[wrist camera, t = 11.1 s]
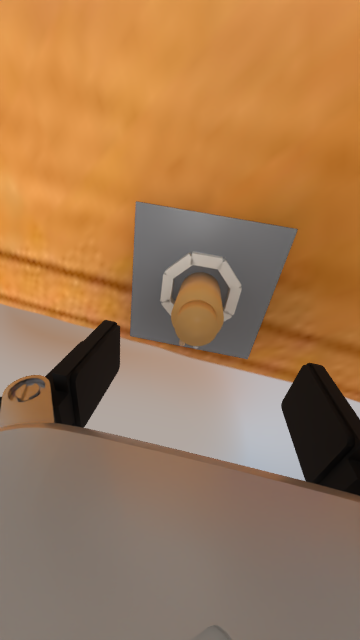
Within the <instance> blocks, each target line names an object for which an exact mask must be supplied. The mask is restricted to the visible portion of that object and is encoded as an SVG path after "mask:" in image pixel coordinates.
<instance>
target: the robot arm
mask: <svg viewBox="0 0 360 640" xmlns="http://www.w3.org/2000/svg"><path fill="white" fill-rule="evenodd" d="M119 367H120V326H118V325H117V323H116V322H113V321H108V320H104V321H103V322H102V323H101V324H100V325H99V326H98V327H97V328H96V329H95V330H94V331H93V332H92V333H91V334H90V335H89V336H88V337H87V338H86V339H85V340H84V341H82V342H80V343H79V344H78V345H77V346H76V347H75V348H74V349H73V350H72V351H71V352H70V353H69V354H68V355H67V356H66V357H65V358H64V359H63V360H62V361H61V362H60V363H59V364H58V365H57V366H56V367H55V368H54V369H52V371H51V372H50V373H48V374H47V375H46V376H45V377H44V376H41V375H31V376H26V377H23V378H20V379H18V380H16V381H14V382H13V383H11V384H10V385H9V386H8V387H7V388H6V389H5V391H4V392H3V395H2V397H0V640H360V419H359V418H358V416H357V415H356V413H355V412H354V410H353V409H352V407H351V406H350V405H349V403H348V402H347V400H346V399H345V397H344V396H343V394H342V393H341V391H340V390H339V388H338V387H337V386H336V384H335V383H334V381H333V380H332V378H331V377H330V375H329V374H328V372H327V371H326V369H325V368H324V367H323V366H322V365H317V364H313V363H308V364H306V365H303V366H302V368H301V370H300V371H299V373H298V375H297V377H296V378H295V380H294V382H293V384H292V386H291V387H290V389H289V391H288V392H287V394H286V396H285V398H284V399H283V401H282V405H281V406H282V411H283V414H284V417H285V420H286V423H287V426H288V429H289V432H290V435H291V438H292V441H293V444H294V447H295V450H296V453H297V456H298V459H299V462H300V466H301V468H302V472H303V475H304V477H305V480H306V481H302V480H298V479H294V478H290V477H286V476H282V475H278V474H274V473H269V472H266V471H262V470H258V469H254V468H250V467H246V466H242V465H238V464H234V463H230V462H226V461H221V460H218V459H214V458H210V457H205V456H201V455H197V454H193V453H189V452H185V451H181V450H177V449H172V448H168V447H164V446H160V445H156V444H152V443H148V442H143V441H139V440H135V439H131V438H127V437H122V436H118V435H114V434H109V433H105V432H100V431H96V430H91V429H86V428H84V427H85V425H86V424H87V422H88V420H89V419H90V417H91V415H92V414H93V412H94V410H95V409H96V407H97V405H98V404H99V402H100V401H101V399H102V397H103V396H104V393H105V392H106V390H107V389H108V387H109V386H110V384H111V382H112V380H113V379H114V377H115V376H116V374H117V372H118V370H119Z"/></svg>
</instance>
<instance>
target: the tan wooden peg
mask: <svg viewBox="0 0 360 640" xmlns="http://www.w3.org/2000/svg"><path fill="white" fill-rule="evenodd" d="M171 321H172V324H173V327H174V328H175V332H176V334H177V336H178V338H179V339H180V340H181V341H182V342H184V343H186V344H188V345H191V346H203V345H206V344H208V343H210V342H211V341H212V340H213V339H214V338H215V337H216V335H217V333H218V332H219V331H220V329H221V327H222V325H223V322H224V314H223V307H222V300H221V293H220V287H219V284H218V282H217V280H216V279H215V278H214V277H213V276H211V275H210V274H207V273H204V272H197V273H193V274H191V275H189V276H188V277H186V278H185V279H184V281H183V282H182V285H181V287H180V290H179V293H178V295H177V298H176V301H175V304H174V306H173V309H172V312H171Z"/></svg>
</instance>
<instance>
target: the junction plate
mask: <svg viewBox="0 0 360 640" xmlns="http://www.w3.org/2000/svg"><path fill="white" fill-rule="evenodd" d="M297 230H298V229H294V228H288V227H282V226H276V225H270V224H265V223H259V222H253V221H247V220H241V219H235V218H230V217H224V216H218V215H212V214H206V213H200V212H195V211H189V210H183V209H177V208H171V207H165V206H160V205H154V204H148V203H142V202H136V212H135V235H134V259H133V282H132V305H131V328H130V336H133V337H138V338H143V339H148V340H153V341H158V342H163V343H168V344H173V345H178V346H183V347H189V348H194V349H199V350H204V351H209V352H214V353H219V354H224V355H229V356H234V357H239V358H244V359H248V357H249V354H250V352H251V349H252V346H253V344H254V341H255V339H256V336H257V334H258V331H259V328H260V326H261V323H262V321H263V318H264V315H265V313H266V310H267V308H268V305H269V303H270V300H271V297H272V295H273V292H274V290H275V287H276V284H277V282H278V279H279V277H280V274H281V271H282V269H283V266H284V264H285V261H286V259H287V256H288V253H289V251H290V248H291V246H292V243H293V240H294V238H295V235H296V233H297ZM197 272H204V273H207V274H210V275H211V276H213V277H214V278H215V279H216V280H217V282H218V284H219V287H220V293H221V300H222V307H223V314H224V322H223V325H222V327H221V329H220V331H219V332H218V333H217V335H216V337H215V338H214V339H213V340H212V341H211V342H210V343H208V344H206V345H203V346H191V345H188V344H186V343H184V342H182V341H181V340H180V339H179V338H178V336H177V334H176V332H175V328H174V327H173V324H172V321H171V312H172V309H173V306H174V304H175V301H176V298H177V295H178V293H179V290H180V287H181V285H182V282H183V281H184V279H185V278H186V277H188V276H189V275H191V274H193V273H197Z"/></svg>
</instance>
